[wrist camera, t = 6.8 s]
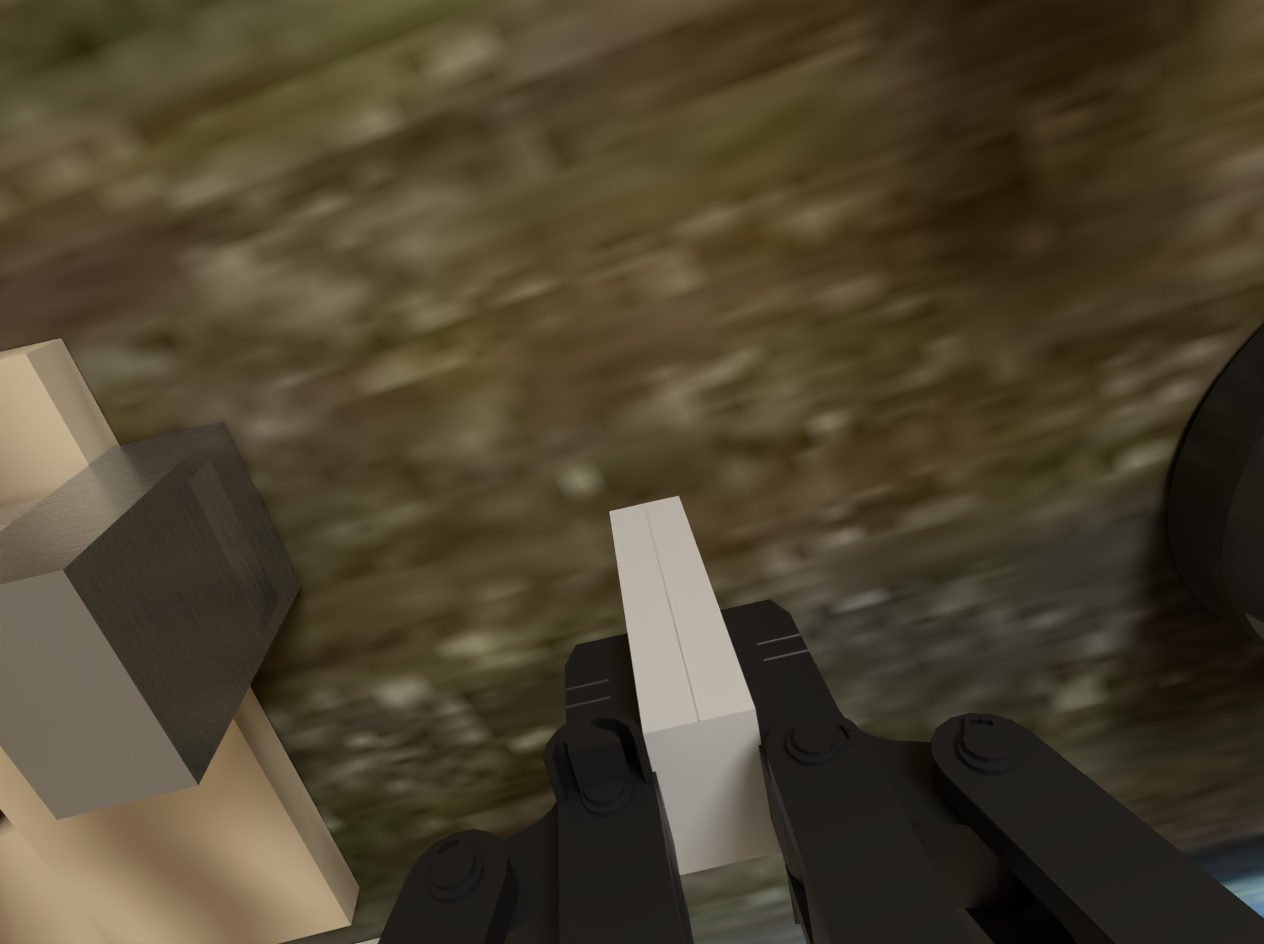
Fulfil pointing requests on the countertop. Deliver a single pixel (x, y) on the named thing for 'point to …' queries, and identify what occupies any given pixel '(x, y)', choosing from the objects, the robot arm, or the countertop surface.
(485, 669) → the countertop surface
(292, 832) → the socket plate
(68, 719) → the steel key
